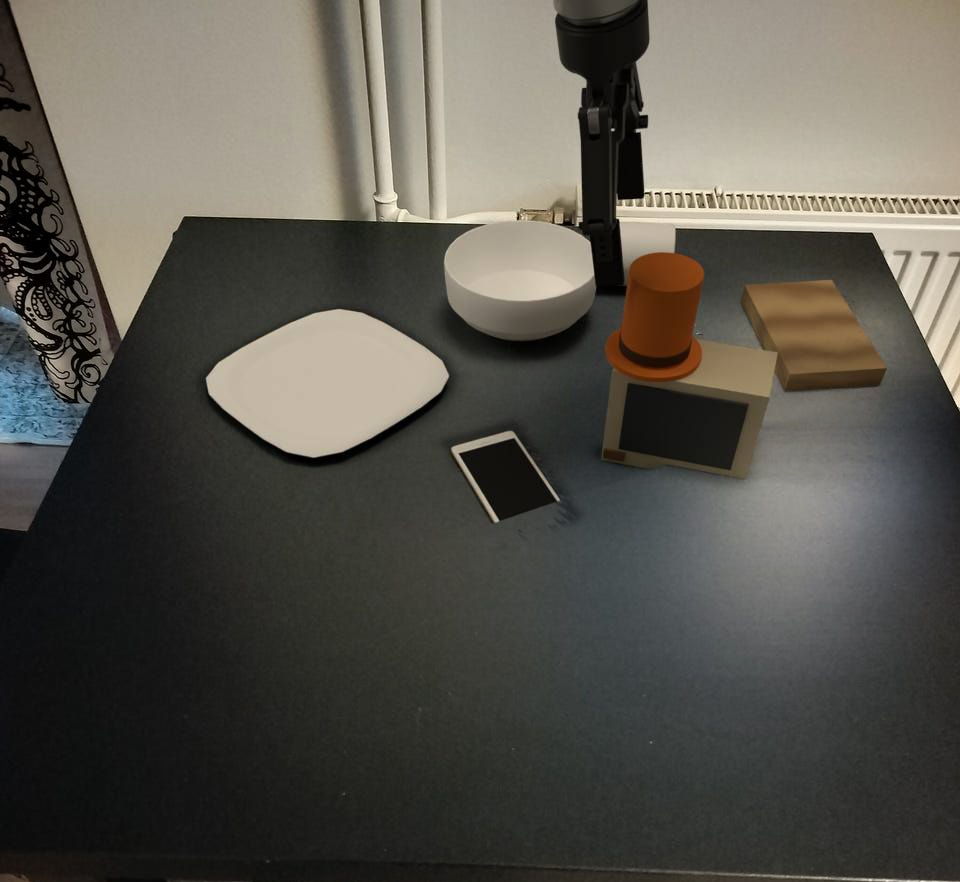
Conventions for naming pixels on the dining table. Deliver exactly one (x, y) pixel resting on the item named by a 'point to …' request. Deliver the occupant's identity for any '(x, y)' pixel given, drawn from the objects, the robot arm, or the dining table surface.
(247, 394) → the plate
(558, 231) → the bowl
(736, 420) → the television
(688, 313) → the hat
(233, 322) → the dining table surface
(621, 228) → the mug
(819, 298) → the brown wooden board
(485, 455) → the cell phone
